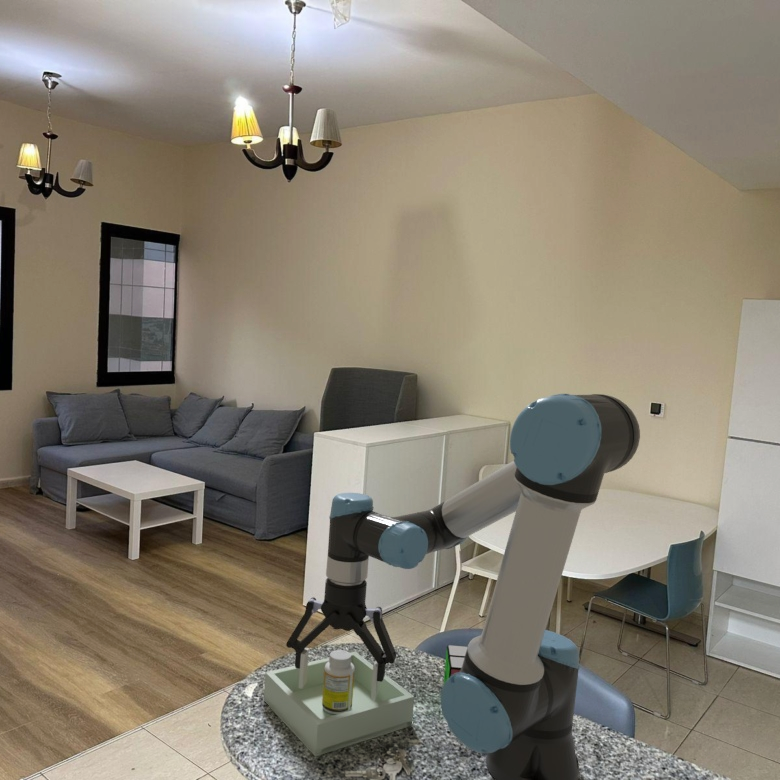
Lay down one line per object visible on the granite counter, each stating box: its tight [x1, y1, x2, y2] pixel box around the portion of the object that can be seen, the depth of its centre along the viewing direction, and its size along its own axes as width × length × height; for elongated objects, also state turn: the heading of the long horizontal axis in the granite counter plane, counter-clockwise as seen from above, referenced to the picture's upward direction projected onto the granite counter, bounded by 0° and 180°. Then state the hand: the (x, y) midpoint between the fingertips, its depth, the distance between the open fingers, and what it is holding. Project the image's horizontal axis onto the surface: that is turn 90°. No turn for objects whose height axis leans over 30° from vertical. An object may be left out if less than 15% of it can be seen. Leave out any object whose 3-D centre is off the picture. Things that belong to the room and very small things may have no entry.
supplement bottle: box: [322, 649, 355, 715], centre depth 130 cm, size 6×6×10 cm
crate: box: [263, 651, 415, 757], centre depth 131 cm, size 20×20×6 cm
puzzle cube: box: [442, 644, 468, 686], centre depth 136 cm, size 10×10×10 cm
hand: (338, 690), depth 131 cm, fingers open, 13 cm apart
